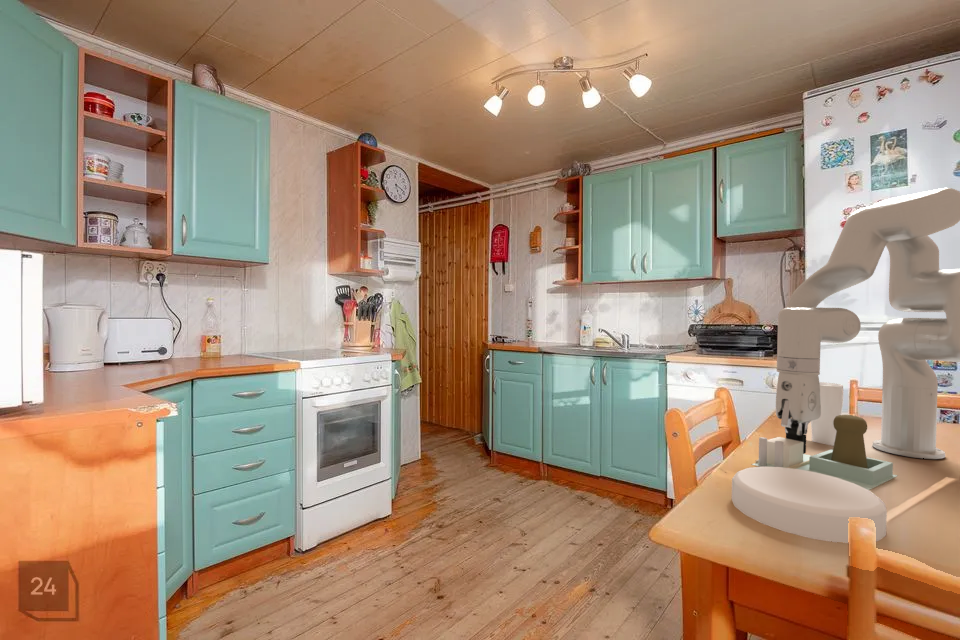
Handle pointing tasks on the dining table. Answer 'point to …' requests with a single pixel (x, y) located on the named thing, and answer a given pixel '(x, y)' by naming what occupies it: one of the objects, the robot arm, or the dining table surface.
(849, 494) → the container
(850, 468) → the base
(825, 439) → the drinking glass
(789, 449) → the block
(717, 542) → the dining table surface
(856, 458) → the olive tapered round-topped piece
